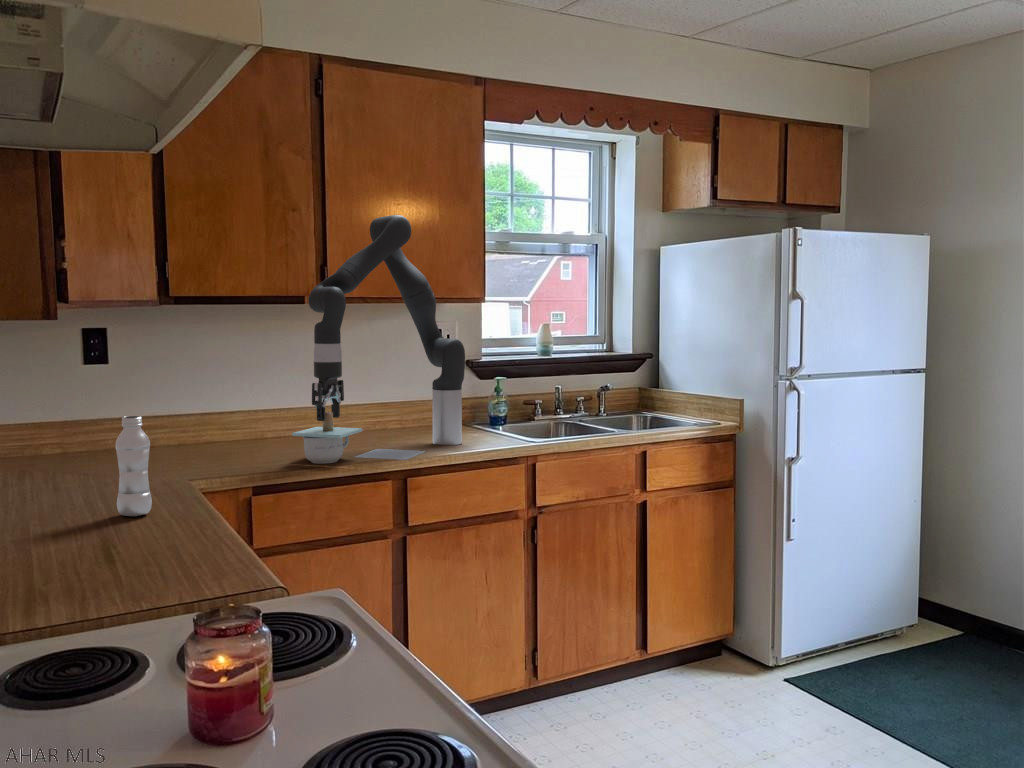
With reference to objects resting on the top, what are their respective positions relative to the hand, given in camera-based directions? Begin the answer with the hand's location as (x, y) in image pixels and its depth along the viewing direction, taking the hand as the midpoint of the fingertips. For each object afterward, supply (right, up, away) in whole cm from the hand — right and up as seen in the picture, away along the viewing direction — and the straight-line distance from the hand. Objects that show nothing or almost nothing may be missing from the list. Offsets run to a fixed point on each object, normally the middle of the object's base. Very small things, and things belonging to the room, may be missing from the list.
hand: (328, 419), depth 233 cm
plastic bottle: (-25, -17, -62) cm, 70 cm away
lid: (0, -4, 0) cm, 4 cm away
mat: (+15, -11, +12) cm, 23 cm away
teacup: (0, -12, +1) cm, 12 cm away
